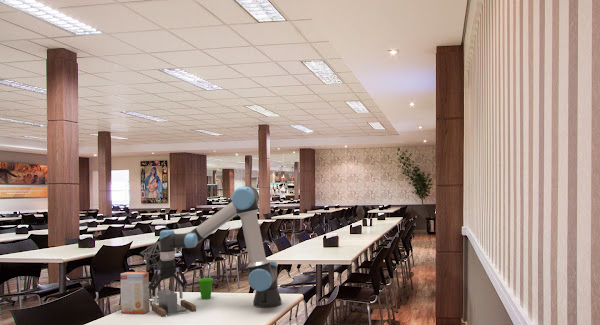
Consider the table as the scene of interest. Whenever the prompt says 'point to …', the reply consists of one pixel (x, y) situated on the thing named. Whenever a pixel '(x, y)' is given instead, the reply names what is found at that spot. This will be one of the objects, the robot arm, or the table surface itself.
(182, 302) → the bay walls
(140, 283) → the cracker box
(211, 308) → the table surface
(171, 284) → the geometric lantern
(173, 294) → the angle bracket
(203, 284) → the cup
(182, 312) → the pad
